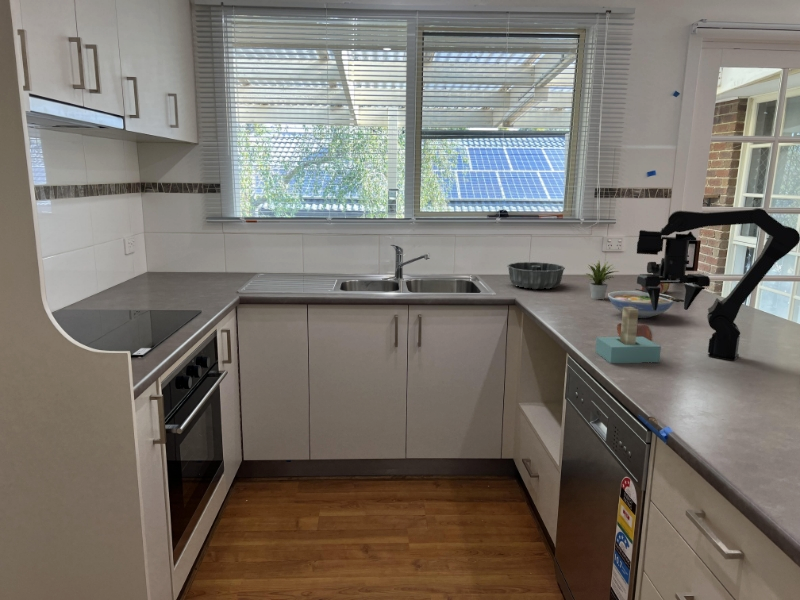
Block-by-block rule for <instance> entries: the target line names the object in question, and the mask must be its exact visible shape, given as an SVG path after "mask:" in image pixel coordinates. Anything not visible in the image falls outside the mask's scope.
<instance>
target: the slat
mask: <svg viewBox="0 0 800 600" xmlns="http://www.w3.org/2000/svg"><path fill="white" fill-rule="evenodd" d="M638 319H639V318H638V310H637V309H635V308H633V307H623V312H622V315H621V323H622V324H621V336H620V342H621V343H623V344H624V345H635V342H636V331H637V325H638Z"/></svg>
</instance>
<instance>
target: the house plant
mask: <svg viewBox="0 0 800 600" xmlns="http://www.w3.org/2000/svg"><path fill="white" fill-rule="evenodd" d="M608 263H609V261H607V262H606V263H605V264H604V265H603V266H602V268H601V262H600V260H598V262H597V263H596V264H594V263H593V265H594V266H595V267H594V266H592V265H590V264H588V268H589V270H590V271H591V272H592V274H590V273H585V275H586V276H589V280H590V281H591V280H593V281H594V282H590V283H589V289H590V295H591V297H590V298H591V299H592V298H593V299H592V300H596V299H603V300H605V298H606V293H607V289H608V283H605V282H606V281H607V280H608V281H610V279H614V276H615V274H614V275H611V276H609V274H613V273H618V272H620V271H619V270H614V271H611V270H613V269H615V266H613V264H610V265H608ZM607 265H608V266H607ZM612 266H613V267H612Z"/></svg>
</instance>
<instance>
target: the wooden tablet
mask: <svg viewBox="0 0 800 600" xmlns="http://www.w3.org/2000/svg"><path fill="white" fill-rule="evenodd" d="M621 324H622V322H621V323H620V322H618V323H617V326H616V331H617V335H618V334H619V335H618V337H620V336H621ZM636 337H645V338H646V339H648V340H650V341H652V342H653V340H652V335H651V330H650V327H649V326H648V324H637V331H636Z"/></svg>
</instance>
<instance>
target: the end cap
mask: <svg viewBox="0 0 800 600" xmlns="http://www.w3.org/2000/svg"><path fill="white" fill-rule="evenodd" d="M661 350H662V346H661V345H659V344H657V343H656V342H654V341H653V340H652V341H650V340H648V339H646V338H645V337H636V342H635V345H624V344H623V343H621V342H620V337H619V336H608V337H607V336H604V337H603V336H599V337H598V336H597V337H596V342H595V353H596V354H597V353H598V354H599V355H598V354H597V355H598V356H600V355H601V356H602V357H603V358H602V357H601V356H600V357H601V358H602V359H604V358H605V359H606V360H605V359H604V360H605V361H607V362H608V361H609V362H610V364H642V362H648V364H650V363H649V362H651V364H652V362H658V363H660V360H661ZM609 362H608V363H609Z"/></svg>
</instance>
